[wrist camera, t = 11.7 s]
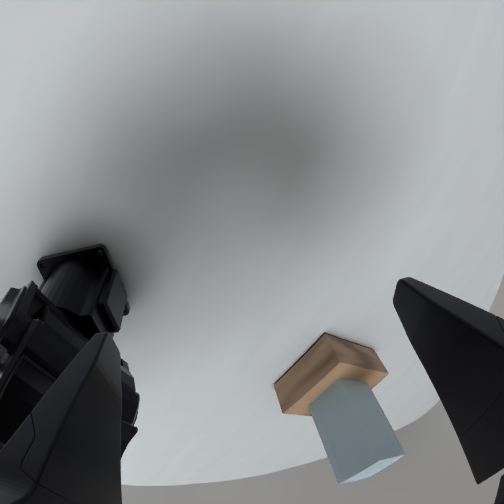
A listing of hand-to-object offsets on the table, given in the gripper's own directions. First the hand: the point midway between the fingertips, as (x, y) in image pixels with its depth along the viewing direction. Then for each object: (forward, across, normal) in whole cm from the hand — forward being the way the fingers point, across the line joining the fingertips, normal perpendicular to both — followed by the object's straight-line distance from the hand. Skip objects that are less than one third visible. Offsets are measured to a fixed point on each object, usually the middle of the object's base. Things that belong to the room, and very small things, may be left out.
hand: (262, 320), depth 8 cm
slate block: (+9, -9, +23) cm, 26 cm away
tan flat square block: (+13, -9, +23) cm, 28 cm away
